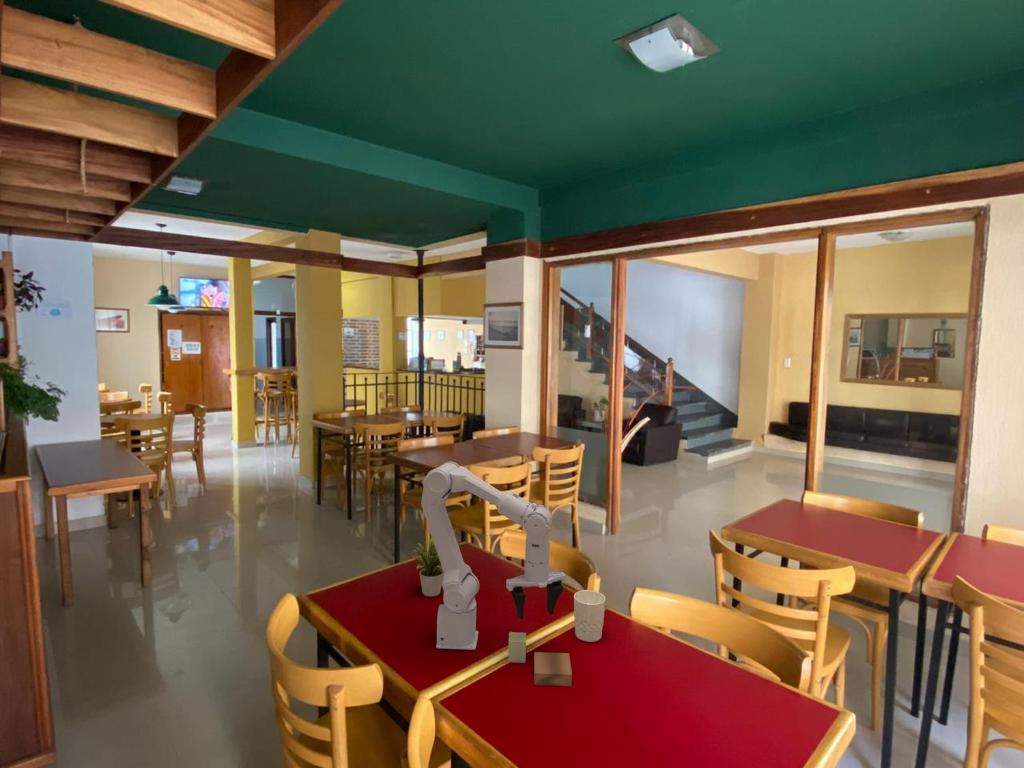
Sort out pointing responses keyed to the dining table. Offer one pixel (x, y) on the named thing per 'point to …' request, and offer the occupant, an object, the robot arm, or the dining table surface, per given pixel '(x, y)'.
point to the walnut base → (552, 669)
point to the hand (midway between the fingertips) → (535, 614)
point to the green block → (517, 647)
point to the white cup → (589, 615)
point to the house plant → (430, 570)
